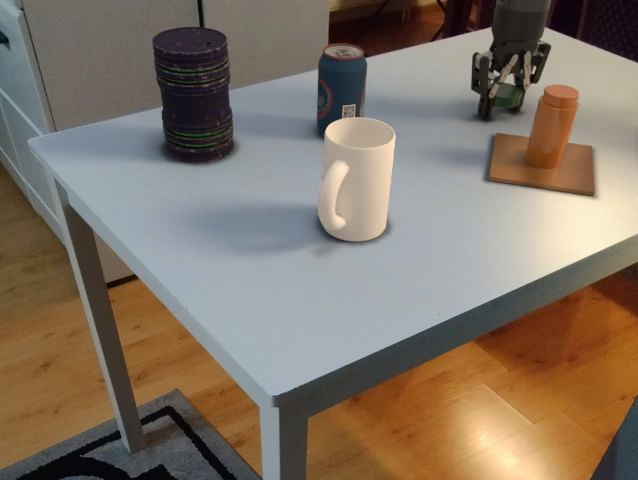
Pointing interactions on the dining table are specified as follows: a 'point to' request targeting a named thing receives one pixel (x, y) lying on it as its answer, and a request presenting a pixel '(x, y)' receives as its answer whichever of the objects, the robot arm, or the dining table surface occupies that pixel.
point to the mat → (566, 177)
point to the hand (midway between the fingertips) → (499, 114)
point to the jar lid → (507, 96)
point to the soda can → (340, 84)
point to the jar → (552, 126)
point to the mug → (356, 178)
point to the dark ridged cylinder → (194, 93)
